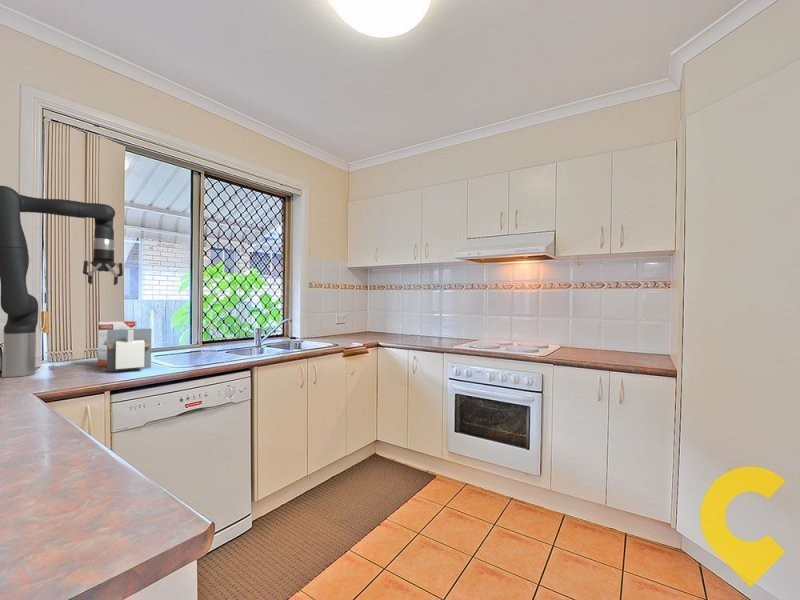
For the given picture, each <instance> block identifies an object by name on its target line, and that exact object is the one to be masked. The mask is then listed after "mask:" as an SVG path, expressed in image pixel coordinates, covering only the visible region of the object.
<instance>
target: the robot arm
mask: <svg viewBox="0 0 800 600" xmlns="http://www.w3.org/2000/svg"><path fill="white" fill-rule="evenodd" d="M21 213H36V214H37V213H38V214H47V215H55V216H62V217H71V218H78V219H85V218H86V219H87V218H88V219H90V218H91V219H94V235H93V237H94V238H93V239H94V240H93V245H92V246H93V247H92V248H93V250H92V253H93V254H92V261H88V260H84V261H83V268H82V273H83V275H86V276H87V282H88V284H89V285H93V274H95V273H96V272H97V271H98V272H105V273H106V272H108V273H109V272H110V273H111V274H112V275H113V276H114V277H113V286H116V285H118V280H119V277H122V276H123V275H124V274H123V273H124V272H123V271H124V270H123V263H122V262H117V263H116V262H115V230H114V218H115V216H116V211H115V208H113V207H112V206H111V205H109V204H106V203H99V202H98V203H97V202H83V201H77V200H70V199H65V198H64V199H61V198H41V197H33V196H27V195H23V194H20V193H18V192H17V191H16V190H15V189H14V188H12V187H9V186H7V185H0V307H1V309H2V311H3V312H4V313H5V314H7V320H6V323H5V325H4V326H3V352H2V353H1V378H13V377H14V378H15V377H23V376H24V377H26V376H31V375H32V376H33V375H35V374H36V353H37V351H36V347H37V346H36V339H37V338H36V335H37V334H36V333H37V326H38V323H39V322H38V321H39V302H38V299H37V298H36V297H35V296H33V295H32V294H30V293H29V291H28V287H27V274H28V270H29V264H30V256H29V249H28V243H27V238H26V235H25V232H24V229H23V227H22V223H21V221H22V220H21ZM90 265H92V266H93V267H94V268H92V269H91V270H90V272H88V267H90ZM115 266H116V268H118V273H117V272H116V271H115V270H114V269H113V268H114V267H115Z"/></svg>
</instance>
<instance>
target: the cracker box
mask: <svg viewBox="0 0 800 600" xmlns="http://www.w3.org/2000/svg"><path fill="white" fill-rule="evenodd" d="M119 329H137V320H100V321H98V330H97V331H98V332H97V333H98V334H97V336H98V337H97V338H98V339H97V343H98V344H97V368H98V367H99V368H100V367H103V368H104V367H107V330H119Z"/></svg>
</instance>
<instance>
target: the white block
mask: <svg viewBox="0 0 800 600" xmlns="http://www.w3.org/2000/svg"><path fill="white" fill-rule="evenodd" d="M133 339H134V331H133V330H127V340H119V341H116V360H115V368H116V369H125V368H137V367H144V351H145V342H144V340H133Z"/></svg>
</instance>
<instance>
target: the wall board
mask: <svg viewBox="0 0 800 600" xmlns="http://www.w3.org/2000/svg"><path fill="white" fill-rule="evenodd" d="M127 330H133V331H134V339H133V340H144V342H145V351H144V367H137V368H125V369H116V368H115V360H116V341H119V340H127ZM143 368H145V369H151V368H152V328H136V329H119V330H107V366H106V372H107V373H108V372H119V371H129V370H131V371H132V370H140V369H141V370H143Z"/></svg>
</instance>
